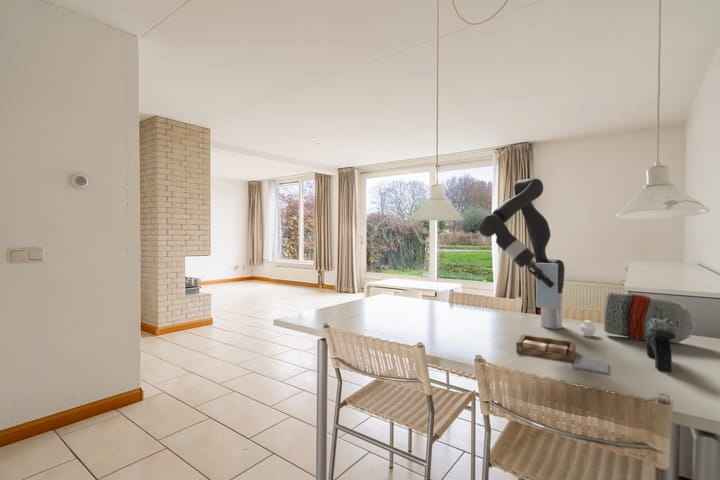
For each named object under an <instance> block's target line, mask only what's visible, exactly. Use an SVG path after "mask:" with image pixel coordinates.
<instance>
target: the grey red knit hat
mask: <svg viewBox="0 0 720 480" xmlns="http://www.w3.org/2000/svg"><path fill="white" fill-rule="evenodd" d="M660 308H662V319H661V320H665V319H666V318H670V321H671V322H672V323H673V325H674V329H675V339H672V340H670V342H674V343H673V344H679V343H681V342H682V341H685V340H687V339H689V338H690V337H691V335H692V333H693V331H694V330H695V328H696V325H695V320H694V316H693V314H692V313H691V312H690V311H689V310H688V309H687V307H685V306H682V304H681V303H680V302H676V301H673V300H669V299H667V298H666V299H665V298H658V297H651V296H650V297H649V296H646V295H643V294H638V293H637V294H635V293H631V294H629V293H622V292H613V291H608V292H607V293H606V299H605V303H604V310H603V331H604V332H606V334H610V335H616V336H622V337H626V338H629V340H630V339H638V340H637V341H640V340H643V341H646V339H645V325H646V324H648V321H649V319H650V318H653V317H654V315H658V316H659V319H660V315H661V313H660V311H659V309H660ZM654 319H658V317H657V316H656V317H655V318H654Z"/></svg>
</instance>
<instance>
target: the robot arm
mask: <svg viewBox="0 0 720 480" xmlns="http://www.w3.org/2000/svg"><path fill="white" fill-rule="evenodd" d="M513 190H514V195H515V196H513V197H511V198H509V199H506V200H505V201H504V202H502V203H501V204H500V205H498V207H496V208H495V209H494V211H493V212H492V213H490V214H487V215H486V216H485V217H484V219H483V220H482V222H481V223H480V224H479V228H478V230H479V233H480V234H481V235H482V236H484V237H492V236H494V235H495V236H496V240H495V243H496V244H497V246H498V247H500V248H501V250H503V252H505V254H506V255H507V257H509V258H510V259H511V260H512V261H513V262H514V263H515V264H516V265H517V266H518V267H519V268H520V269H521V268H523V267H525V266H526V267H527V271H528V272H530V273H531V274H532V275H533V276H534V277H535V278H536V279H537V278H538V279H539V280H541V281H543V282H544V283H545V284H546V285H547V286H548V287H549V288H551V287H552V286H553V285H554V283H553V282H552V281H551V280H550V279H549V278H548V277H547V276H546V275H545V274H544V273H543V270H541V269H540V268H539V267H538V265H537V263H555V264H558V307H557V309H556V308H546V307H540V325H541V327H542V328H546V329H553V330H554V329H555V330H557V329H563V289H564V285H565V283H564V282H565V264H564V261H563V260H561V259H554V258H553V259H552V258H548V256H547V253H546V248H547V246H548V244H549V241H550V240H551V236H552V235H551V230H550V227H549V226H550V225H549V223H548V221H547V219H546V218H545V217H544V216H543V214H541V212H539V211H538V209H537V208H536V207H534V206H535V205H533V201H534V200H536V199H538V198H539V197H541V195H542V194H543V192H544V184H543V182H542V180H541V179H540V178H535V177H534V178H527V179H520V180H517V181H516V182H515V184H514V186H513ZM520 210H521V213H522V215H523V218H524V223H525V225H526V229H527V233H528V236H529V239H530V243H531V247H532V250H533V251H531V249H529V248H528V247H527V245H525V244H524V243H523V242H522V241H520V240H519V239H518V238H517V237H516V236H515V235H514V234H512V232H510V230H509V228H508V226H507V225H506V222H508V220H510V219H511V218H513V216H515V214H516V213H517V212H519V211H520ZM533 259H534V260H535V261H534V260H533ZM539 270H540V271H539ZM540 274H541V276H539V275H540ZM546 277H547V278H546Z"/></svg>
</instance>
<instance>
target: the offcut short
mask: <svg viewBox="0 0 720 480" xmlns="http://www.w3.org/2000/svg"><path fill="white" fill-rule="evenodd" d="M548 352H553V353H559V354H565V355H568V347H567V346H561V345H555V344H549V346H548Z"/></svg>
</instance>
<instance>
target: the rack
mask: <svg viewBox="0 0 720 480" xmlns="http://www.w3.org/2000/svg"><path fill="white" fill-rule="evenodd" d="M524 340H529V341H535V342H540V343H545V344H547V351H541V350H535V349H529V348H522V342H523V341H524ZM549 344H555V345H561V346H567V347H568V355H565V354H559V353H553V352H548V346H549ZM515 345H516V349H515V350H516V353H517V354H518V353H519V354H522V355H523V354H524V355H528V356H529V355H530V356H535V357H541V358H548V359H552V360H557V361H558V360H559V361H564V362H571V363H574V359H575V358H576V356H575V355H576V353H577V352H576V345H577V344H576V341H572V340H566V339H565V340H564V339H558V338H551V337H545V336H537V335H530V334H524V333H522V334H521V335H520V337H519V338H518V340H516V344H515Z"/></svg>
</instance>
